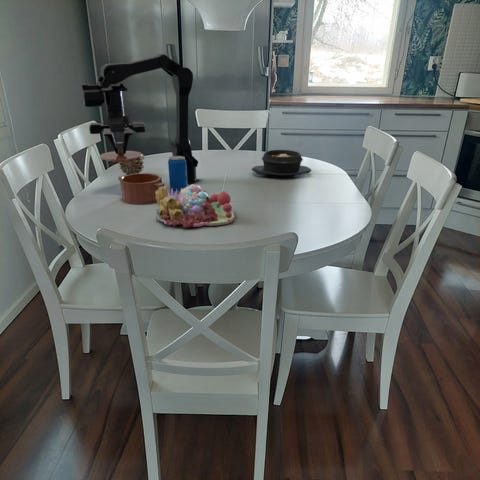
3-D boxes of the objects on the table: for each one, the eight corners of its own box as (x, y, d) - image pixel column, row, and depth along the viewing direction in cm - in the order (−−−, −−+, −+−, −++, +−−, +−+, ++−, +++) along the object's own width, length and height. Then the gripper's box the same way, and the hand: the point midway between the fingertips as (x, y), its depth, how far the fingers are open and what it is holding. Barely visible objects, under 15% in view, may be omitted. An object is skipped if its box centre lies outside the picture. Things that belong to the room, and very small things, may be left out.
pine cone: (140, 181, 179) (137, 155, 174) (116, 181, 179) (113, 155, 174) (152, 168, 198) (150, 144, 192) (130, 168, 198) (128, 144, 193)
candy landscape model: (165, 233, 130) (163, 202, 125) (146, 210, 149) (143, 181, 144) (245, 222, 139) (245, 192, 134) (217, 201, 157) (216, 174, 152)
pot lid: (131, 152, 173) (129, 137, 170) (149, 159, 163) (148, 143, 160) (93, 157, 165) (91, 141, 163) (110, 165, 155) (108, 148, 152)
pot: (136, 189, 169) (134, 170, 166) (176, 197, 160) (175, 177, 157) (108, 198, 159) (105, 178, 156) (149, 208, 150) (147, 187, 147)
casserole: (252, 179, 182) (253, 158, 177) (250, 168, 198) (251, 148, 193) (314, 179, 183) (316, 158, 178) (307, 168, 198) (309, 148, 194)
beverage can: (184, 194, 164) (182, 160, 158) (167, 193, 165) (165, 159, 159) (190, 189, 170) (188, 156, 163) (173, 188, 171) (171, 155, 164)
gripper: (84, 109, 147) (92, 159, 155) (143, 108, 150) (148, 157, 158) (87, 105, 156) (94, 152, 164) (142, 104, 159) (146, 150, 168)
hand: (120, 153), depth 163 cm, fingers closed on pot lid, 3 cm apart
